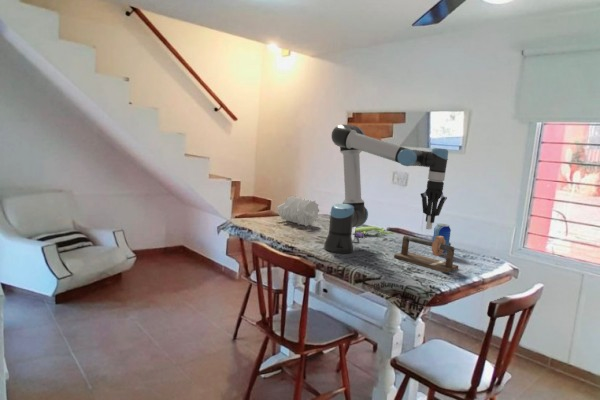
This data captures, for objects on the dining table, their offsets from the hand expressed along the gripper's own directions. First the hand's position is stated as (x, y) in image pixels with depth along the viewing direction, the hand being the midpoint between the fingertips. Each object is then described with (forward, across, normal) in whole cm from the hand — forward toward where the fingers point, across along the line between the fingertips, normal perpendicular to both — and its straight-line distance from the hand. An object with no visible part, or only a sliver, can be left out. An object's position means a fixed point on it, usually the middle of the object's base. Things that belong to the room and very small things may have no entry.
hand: (428, 228), depth 208 cm
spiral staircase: (+19, +96, -7) cm, 98 cm away
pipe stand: (+17, -1, 0) cm, 17 cm away
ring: (+11, -6, 0) cm, 13 cm away
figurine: (+19, +52, -26) cm, 61 cm away
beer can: (+17, +5, -26) cm, 32 cm away
